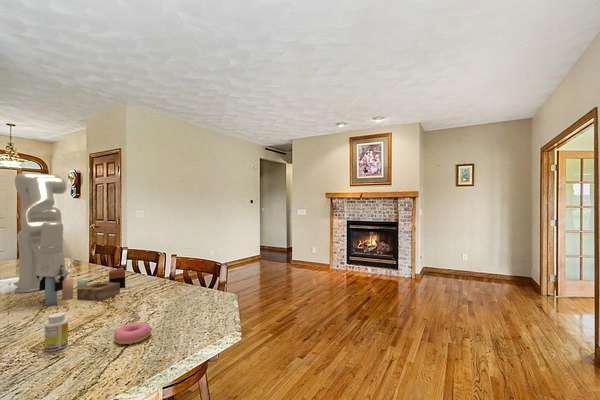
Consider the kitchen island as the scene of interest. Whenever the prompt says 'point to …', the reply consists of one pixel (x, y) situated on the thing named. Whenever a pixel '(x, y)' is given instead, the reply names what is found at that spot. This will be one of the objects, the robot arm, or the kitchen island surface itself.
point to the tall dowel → (50, 291)
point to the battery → (117, 277)
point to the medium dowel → (67, 289)
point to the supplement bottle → (56, 332)
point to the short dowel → (81, 283)
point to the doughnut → (132, 333)
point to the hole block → (98, 291)
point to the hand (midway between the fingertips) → (51, 290)
